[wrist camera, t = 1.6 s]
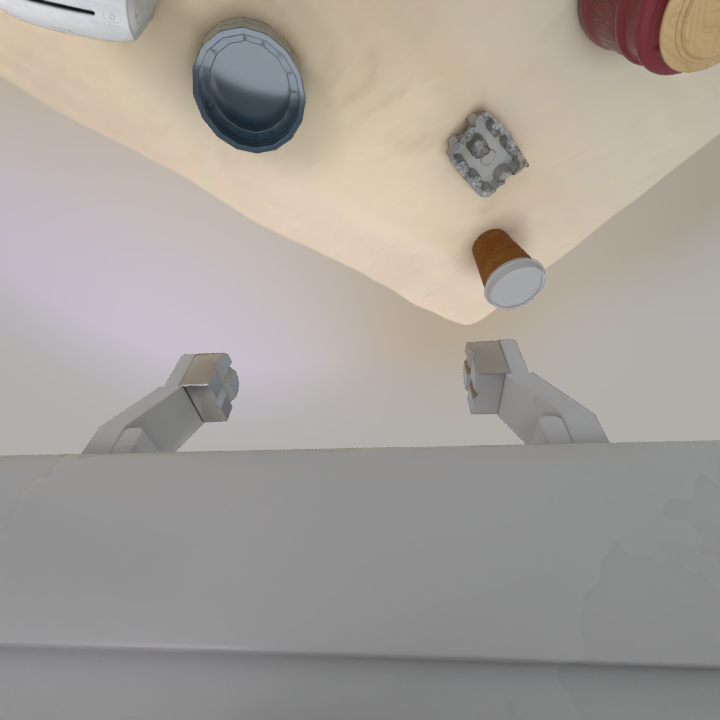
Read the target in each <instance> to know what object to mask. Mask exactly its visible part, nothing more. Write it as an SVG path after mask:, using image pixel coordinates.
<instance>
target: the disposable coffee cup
mask: <svg viewBox="0 0 720 720" xmlns="http://www.w3.org/2000/svg"><path fill="white" fill-rule="evenodd" d="M472 251H473V255H474V258H475V261H476V264H477V267H478V270H479V273H480V276H481V279H482V282H483V285H484V288H485V290H484V293H485V298H486V300H487V301H488V302H489V303H490V304H492V305H494V306H495V307H496V308H498V309H502V310H510V309H515V308H518V307H521V306H523V305H525V304H527V303H528V302H530V301H531V300H533V299H534V298H535V297H536V296H537V295H538V294H539V293H540V291H541V290H542V288H543V286H544V283H545V271H544V267H543V266H542V264H541V263H539V262H538V261H536V260H534V259H532V258H531V257H530V256H529V255H528V254H527V253H526V252H525V251H524V250H523V249H521V247H519V245H517V244H516V243H515V242H514V241H513V240H512V239H511V238H510V237H509V236H508V235H507V234H506V233H505V232H504V231H502V230H499V229H494V230H490V231H487V232H485V233H483V234H482V235H481V236H480V237H479V238H478V239H477V240H476V241H475V243H474V245H473V250H472Z"/></svg>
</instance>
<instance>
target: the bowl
mask: <svg viewBox="0 0 720 720" xmlns="http://www.w3.org/2000/svg"><path fill="white" fill-rule="evenodd" d="M193 95H194V98H195V100H196V103H197V105H198V108H199V111H200V113H201V116H202V118H203V119H204V121H205V122H206V123H207V124H208V126H209V127H210V128H211V129H212V130H213V132H214V133H215V134H216V135H217V137H219V138H220V139H222V140H223V141H225V142H226V143H228V144H230V145H231V146H233V147H234V148H236V149H239V150H244V151H248V152H253V153H262V152H267V151H272V150H276V149H278V148H279V147H281V146H282V145H283V144H285V143H286V142H288V141H289V140H291V138H292V137H293V136H294V134H295V132H296V131H297V129H298V127H299V126H300V124H301V122H302V119H303V112H304V106H305V93H304V88H303V83H302V77H301V72H300V67H299V63H298V61H297V59H296V57H295V55H294V54H293V52H292V50H291V48H290V46H289V45H288V43H287V41H286V40H285V39H284V38H283V37H282V36H280V35H279V34H278V33H277V32H276V31H274V30H273V29H272V28H271V27H270V26H269V25H267V24H266V23H262V22H259V21H256V20H253V19H250V18H246V17H240V18H235V19H230V20H224V21H221V22H220V23H219V24H218V25H217V26H216V27H214V28H213V29H212V30H211V31H210V32H209V33H208V34H206V36H205V38H204V40H203V43H202V45H201V48H200V50H199V53H198V55H197V58H196V61H195V63H194V66H193Z"/></svg>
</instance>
